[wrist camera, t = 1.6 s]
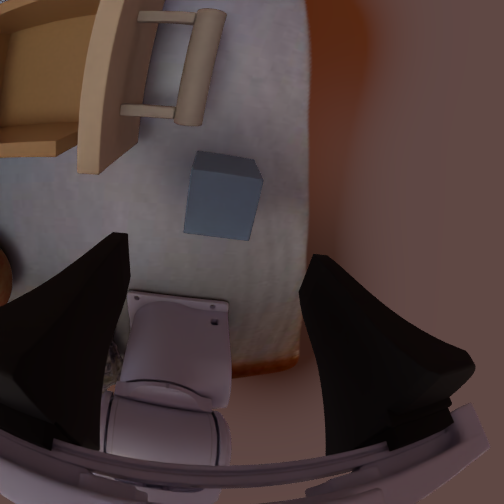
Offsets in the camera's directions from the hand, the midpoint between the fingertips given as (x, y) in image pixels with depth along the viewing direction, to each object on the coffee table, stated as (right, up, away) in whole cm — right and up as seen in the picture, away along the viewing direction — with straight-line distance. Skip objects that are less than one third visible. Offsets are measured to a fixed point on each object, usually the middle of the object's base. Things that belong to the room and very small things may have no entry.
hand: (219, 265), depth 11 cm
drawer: (-9, +12, +2) cm, 16 cm away
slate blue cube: (-1, +5, +9) cm, 10 cm away
